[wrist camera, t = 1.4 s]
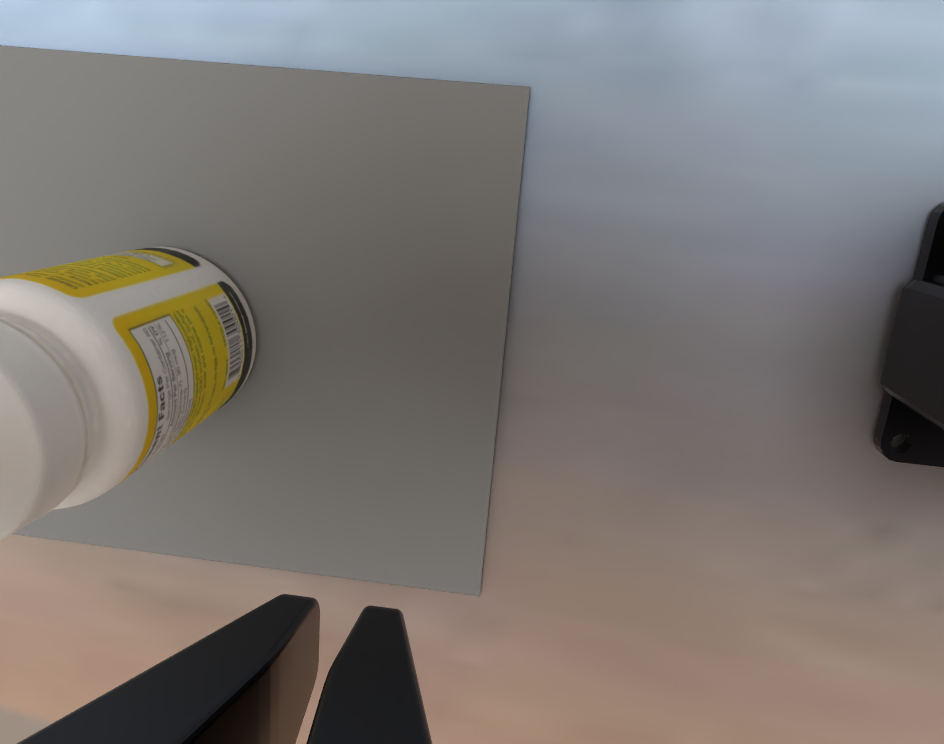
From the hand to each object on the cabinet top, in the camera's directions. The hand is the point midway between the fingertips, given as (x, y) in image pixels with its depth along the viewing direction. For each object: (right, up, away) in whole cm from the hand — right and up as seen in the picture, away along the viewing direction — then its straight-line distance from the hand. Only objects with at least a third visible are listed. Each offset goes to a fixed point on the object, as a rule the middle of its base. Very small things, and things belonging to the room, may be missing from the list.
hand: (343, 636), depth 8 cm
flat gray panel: (-8, +4, +12) cm, 15 cm away
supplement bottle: (-7, +4, +12) cm, 14 cm away
